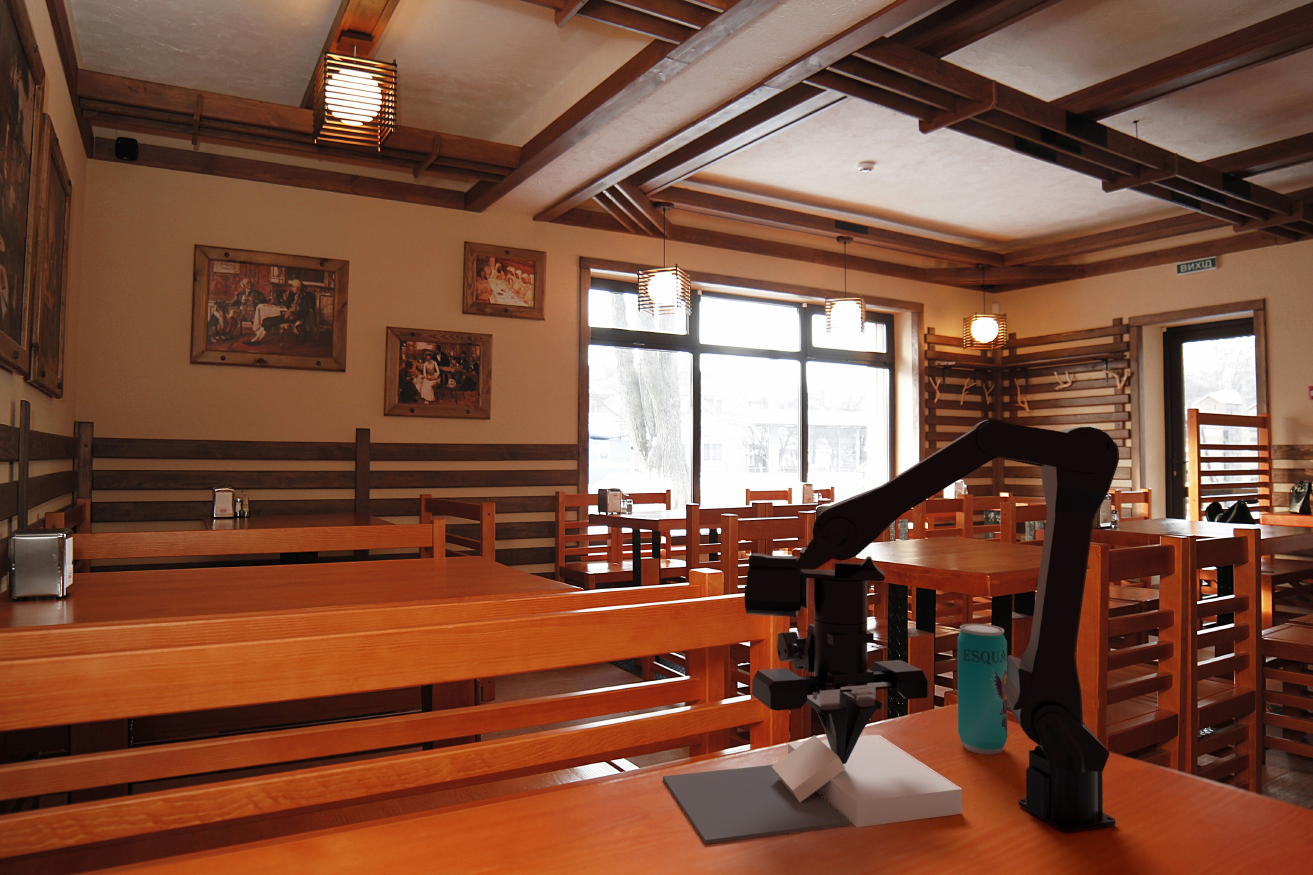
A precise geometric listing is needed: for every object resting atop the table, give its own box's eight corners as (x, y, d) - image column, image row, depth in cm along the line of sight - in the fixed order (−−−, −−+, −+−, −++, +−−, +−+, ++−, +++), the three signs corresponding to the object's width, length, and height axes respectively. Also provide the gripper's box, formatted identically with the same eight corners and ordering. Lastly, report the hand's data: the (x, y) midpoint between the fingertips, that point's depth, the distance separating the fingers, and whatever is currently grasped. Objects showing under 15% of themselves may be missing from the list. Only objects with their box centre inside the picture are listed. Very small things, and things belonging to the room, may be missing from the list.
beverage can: (1003, 760, 94) (1002, 635, 94) (953, 750, 97) (952, 629, 97) (1010, 745, 99) (1010, 626, 99) (963, 736, 102) (962, 621, 102)
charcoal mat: (785, 766, 91) (786, 763, 91) (849, 825, 77) (849, 821, 77) (662, 779, 88) (662, 776, 88) (705, 844, 73) (705, 839, 73)
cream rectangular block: (821, 746, 88) (814, 734, 88) (845, 768, 82) (838, 756, 82) (778, 777, 87) (771, 766, 87) (799, 802, 81) (792, 790, 81)
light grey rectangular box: (878, 755, 95) (878, 734, 95) (962, 813, 80) (962, 788, 80) (788, 764, 92) (788, 743, 92) (856, 827, 77) (856, 801, 77)
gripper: (877, 602, 96) (877, 730, 95) (734, 609, 91) (733, 744, 90) (931, 620, 85) (932, 765, 84) (772, 630, 80) (772, 783, 80)
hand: (840, 762), depth 85 cm, fingers closed
